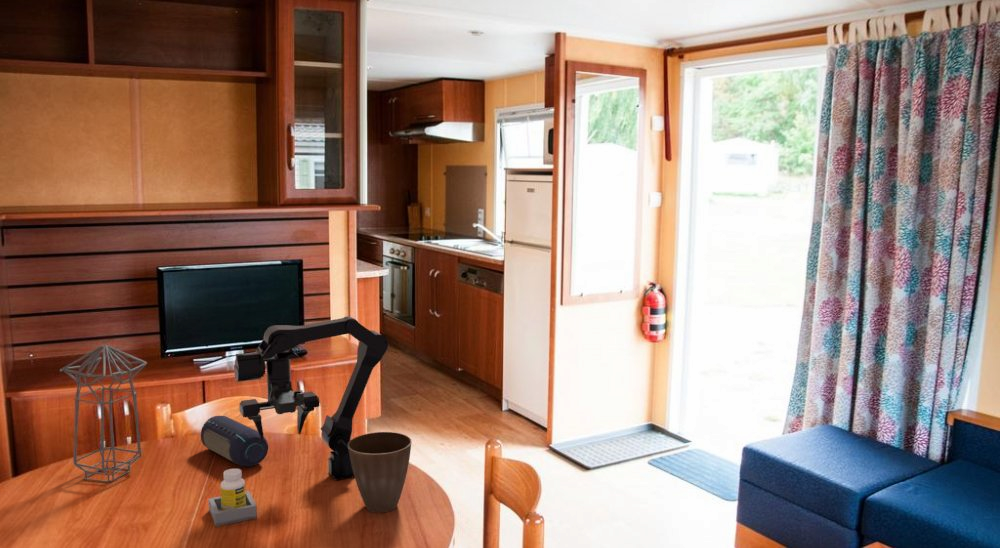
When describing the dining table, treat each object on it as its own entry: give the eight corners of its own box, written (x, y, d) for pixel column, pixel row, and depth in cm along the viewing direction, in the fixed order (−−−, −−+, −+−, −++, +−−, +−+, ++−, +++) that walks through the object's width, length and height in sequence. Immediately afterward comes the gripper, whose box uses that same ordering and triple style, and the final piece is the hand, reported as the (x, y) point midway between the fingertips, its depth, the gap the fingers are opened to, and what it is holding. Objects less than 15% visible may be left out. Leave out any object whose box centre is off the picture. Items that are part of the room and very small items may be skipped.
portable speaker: (196, 450, 222) (194, 416, 221) (228, 441, 229) (227, 409, 228) (239, 474, 205) (237, 438, 203) (273, 464, 212) (271, 429, 211)
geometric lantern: (106, 461, 213) (101, 336, 209) (154, 469, 209) (151, 342, 205) (59, 483, 198) (53, 349, 194) (110, 491, 194) (105, 355, 190)
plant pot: (360, 525, 176) (358, 458, 174) (341, 500, 189) (340, 437, 187) (421, 512, 183) (420, 447, 181) (399, 489, 196) (398, 428, 194)
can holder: (249, 502, 188) (249, 491, 187) (257, 518, 180) (256, 505, 179) (209, 510, 183) (208, 498, 183) (215, 526, 175) (214, 514, 175)
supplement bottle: (238, 517, 178) (236, 477, 177) (216, 515, 179) (214, 475, 178) (250, 507, 183) (248, 468, 182) (229, 505, 185) (227, 466, 183)
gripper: (246, 389, 182) (248, 453, 184) (324, 379, 191) (326, 440, 193) (237, 378, 192) (240, 439, 194) (312, 369, 201) (314, 427, 203)
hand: (280, 436), depth 196 cm, fingers open, 9 cm apart
